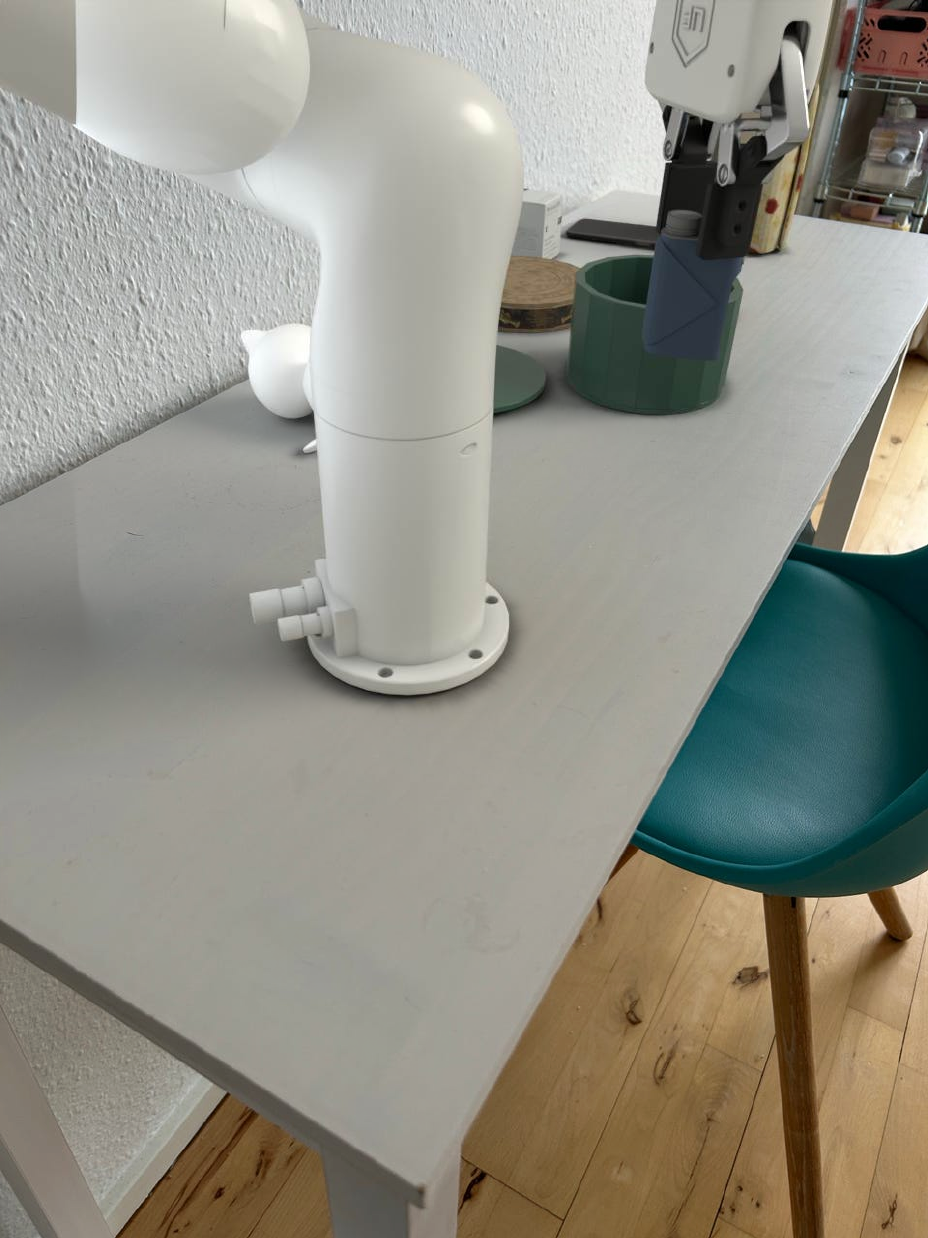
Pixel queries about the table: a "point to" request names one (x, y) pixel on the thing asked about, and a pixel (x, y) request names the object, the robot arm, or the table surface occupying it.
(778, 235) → the food model
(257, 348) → the cat figurine
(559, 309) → the round wooden disc
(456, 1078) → the table surface
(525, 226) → the white cardboard box
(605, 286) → the waste tin
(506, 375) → the tin lid
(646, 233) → the smartphone
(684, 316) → the vaping device
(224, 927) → the table surface
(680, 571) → the table surface
